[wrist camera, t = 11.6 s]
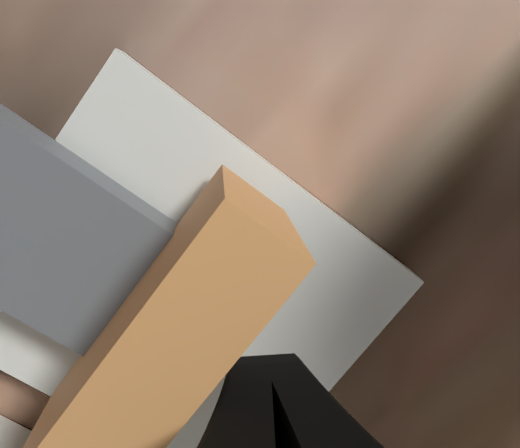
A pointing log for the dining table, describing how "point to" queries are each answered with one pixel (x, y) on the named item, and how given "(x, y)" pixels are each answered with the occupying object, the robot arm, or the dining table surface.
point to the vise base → (175, 207)
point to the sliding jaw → (134, 288)
